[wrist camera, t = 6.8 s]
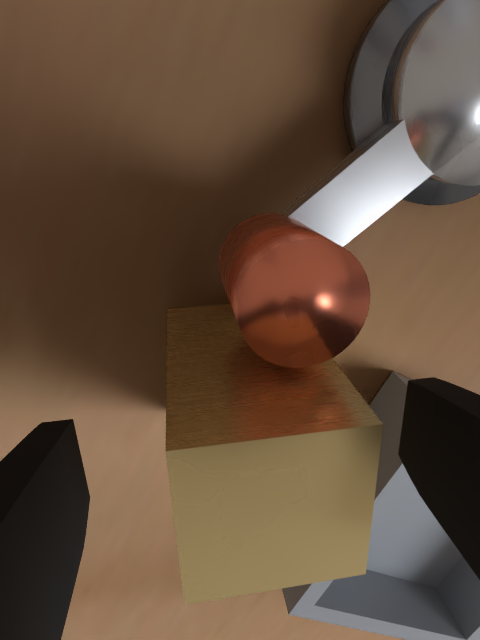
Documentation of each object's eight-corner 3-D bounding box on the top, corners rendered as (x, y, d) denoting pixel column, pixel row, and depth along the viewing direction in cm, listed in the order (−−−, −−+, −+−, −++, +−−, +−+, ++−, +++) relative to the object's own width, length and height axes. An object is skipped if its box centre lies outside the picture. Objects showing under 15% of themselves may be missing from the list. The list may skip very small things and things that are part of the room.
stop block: (287, 299, 12) (383, 424, 7) (286, 400, 14) (365, 574, 8) (167, 309, 12) (165, 451, 6) (178, 412, 13) (184, 604, 8)
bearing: (578, 51, 11) (596, 47, 10) (454, 235, 12) (466, 239, 12) (426, -87, 9) (439, -99, 9) (304, 141, 11) (310, 142, 10)
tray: (555, 445, 16) (619, 495, 14) (430, 589, 18) (468, 652, 16) (392, 371, 14) (437, 416, 11) (271, 546, 16) (288, 614, 14)
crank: (502, -58, 9) (694, -176, 6) (564, 108, 11) (744, 91, 7) (174, 228, 10) (176, 267, 7) (273, 340, 12) (313, 416, 8)
